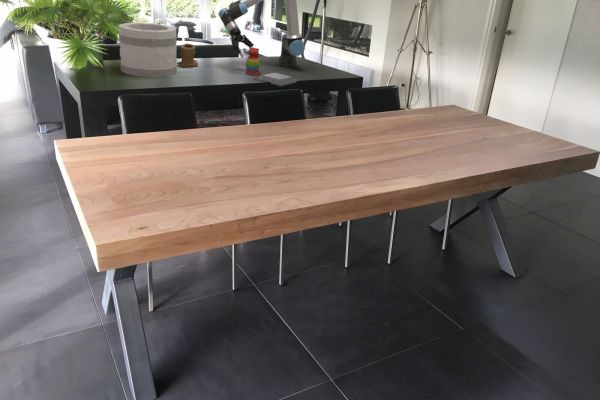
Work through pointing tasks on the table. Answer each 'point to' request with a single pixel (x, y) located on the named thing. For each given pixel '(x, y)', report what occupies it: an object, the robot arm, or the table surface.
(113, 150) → the table surface
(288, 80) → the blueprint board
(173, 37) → the storage basket
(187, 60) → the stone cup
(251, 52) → the stacking bear
